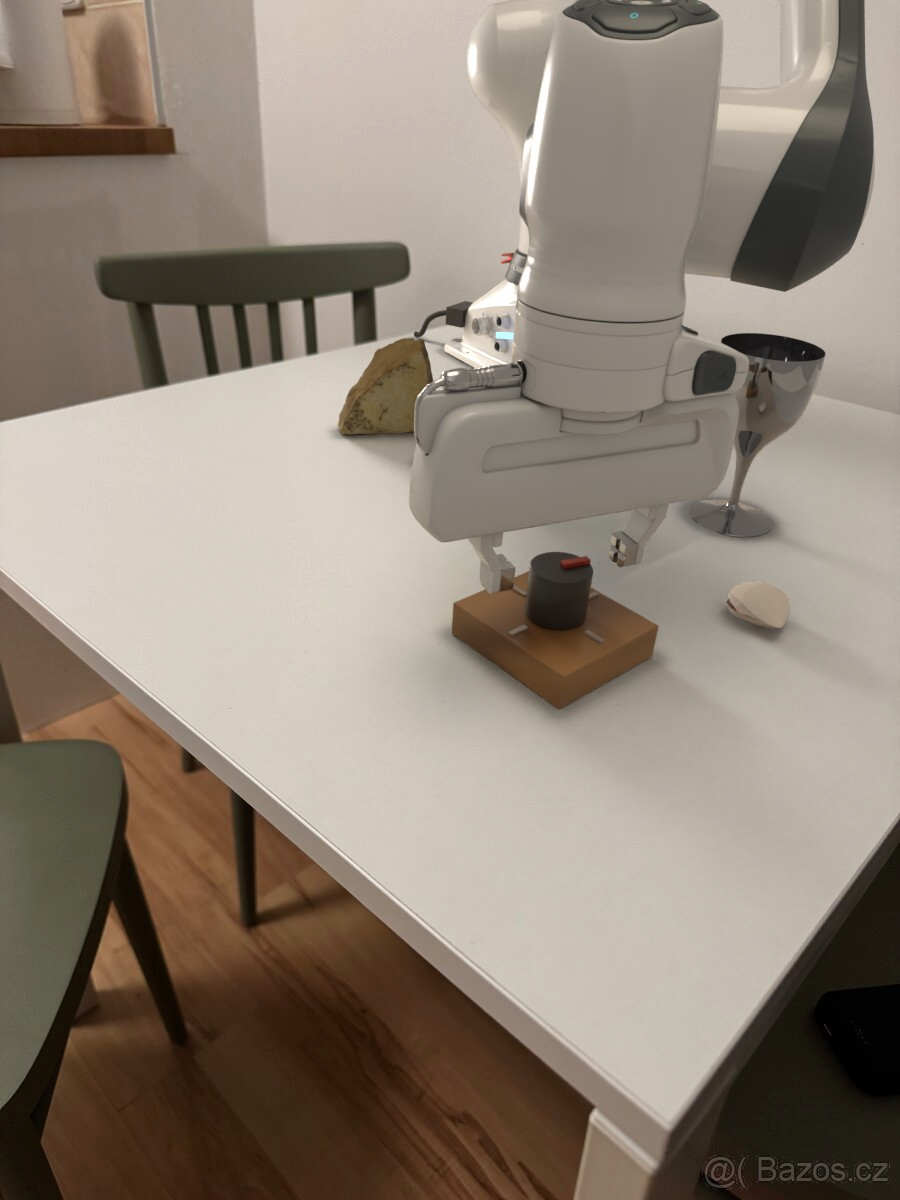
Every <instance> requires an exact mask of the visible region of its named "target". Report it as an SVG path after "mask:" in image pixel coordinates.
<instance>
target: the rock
mask: <svg viewBox="0 0 900 1200" xmlns="http://www.w3.org/2000/svg"><path fill="white" fill-rule="evenodd" d="M433 381H434V377H433V372H432V364H431V360H430V357H429V352H428V350H427V347H426V343H425V340H424V339H422V338H421V339H415V338H413V337H411V338H409V337H404V338H399V339H397V340H395V341H394V342H392V343H389V344H387V345H386V346H383V347H381V348H378V349H376V351H375V352H374V354H373V357H372V359H371V360H370V362H369V363H368V365H367V367H366V368H365V369H364V371H363V372H362V375H361V376H360V377H359V378H358V381H357V382H356V383H355V384H354V385H352V387H351V388H349V391H348V393H347V395H346V397H345V402H344V404H343V407H342V409H341V411H340V413H339V415H338V422H337V427H338V429H339V432H340V434H341V435H377V434H406V433H414V412H415V402H416V399H417V397H418V395H419V394H420V393H421V392H422V391H423V389H424V388H425V387H426V386H427V385H428V384H430V383H431V382H433ZM434 391H437V389H435V390H434Z"/></svg>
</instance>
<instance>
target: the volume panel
mask: <svg viewBox="0 0 900 1200" xmlns="http://www.w3.org/2000/svg"><path fill="white" fill-rule="evenodd" d="M528 576H529V570H528V571H526V572H524V573H521V574H518V575H517V576H516V575H515V576H514V578H513V579H512V581H513V583H514V585H513V588H512V589H511V590H507V591H502V592H496V593H492V594H489V593H488V592H487V591H486V590H485V589H482V590H480V591H478V592H475V593H473V594H471V595H469V596H467V597H464V598H461V599H458V600H456V601H454V602H453V603H452V604H453V605H452V619H451V620H452V621H451V634H452V635H453V636H454V637H456V638H457V639H459V640H460V641H461V642H463V643H464V644H465V645H467V646H468V647H470V648H471V649H473V650H474V651H476V652H477V653H479V655H481V656H483V657H484V658H486V659H487V660H488V661H490V662H491V663H493V664H494V665H496V666H497V667H498V668H500V669H501V670H503V671H504V672H505V673H507V674H508V675H510V676H511V677H513V678H514V679H516V680H517V681H518V682H520V683H521V684H522V685H524V686H525V687H527V688H528V689H530V690H531V691H532V692H534V693H535V694H537V695H539V697H541V698H542V699H544V700H545V701H547V702H548V703H549V704H550V705H552V706H554V707H555V708H556V709H558V710H561V709H563V708H564V707H566V706H568V705H569V704H572V703H573V702H575V701H576V700H578V699H580V698H582V697H584V696H585V695H587V694H589V693H591V692H592V691H595V690H596V689H598V688H599V687H601V686H603V685H605V684H606V683H608V682H610V681H612V680H613V679H615V678H618V677H619V676H621V675H622V674H624V673H626V672H628V671H629V670H631V669H632V668H635V667H636V666H639V665H640V664H642V663H643V662H645V661H647V660H648V659H651V658H652V657H653V654H654V649H655V645H656V640H657V636H658V631H659V625H658V624H657V623H655V622H653V621H652V620H650V619H648V618H646V617H644V616H642V615H641V614H639V613H637V612H635V611H634V610H632V609H630V608H628V607H627V606H625V605H623V604H621V603H619V602H618V601H616V600H614V599H613V598H610V597H609V596H608V595H605V594H603V593H601V592H600V591H598V590H596V589H595V588H592V587H591V589H590V595H589V602H588V608H587V614H586V619H585V621H584V622H583V623H582V624H581V625H580V626H578V627H576V628H573V629H568V630H553V629H547V628H544V627H541V626H539V625H536V624H535V623H533V622H532V621H530V620H529V619H528V617H527V616H526V614H525V602H526V593H527V585H528Z"/></svg>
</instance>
